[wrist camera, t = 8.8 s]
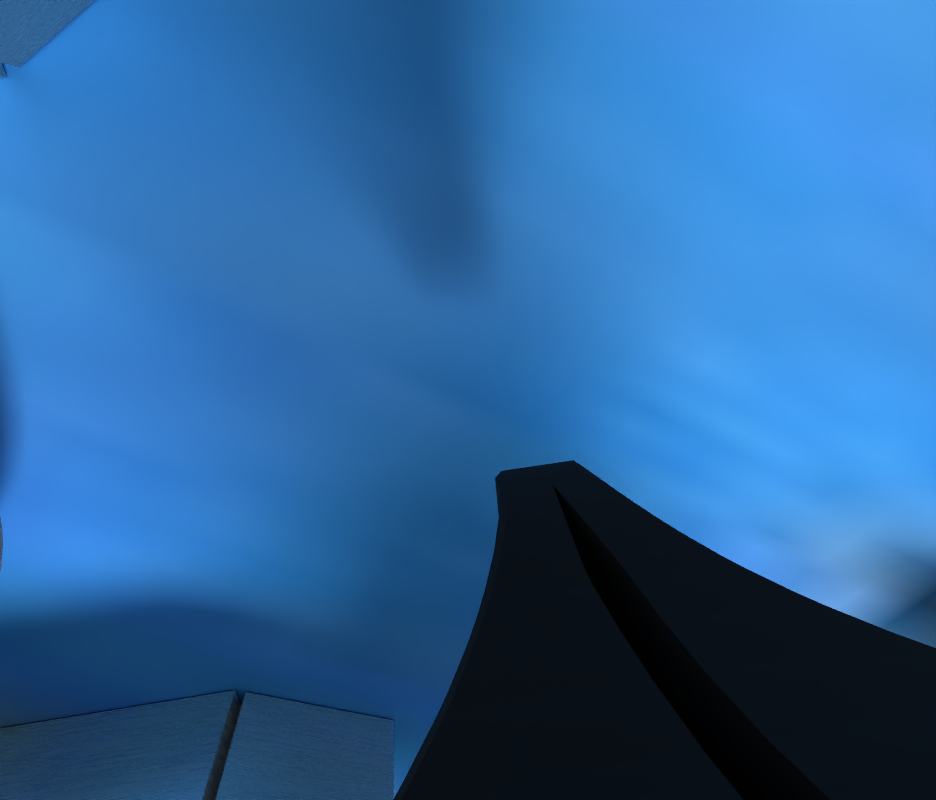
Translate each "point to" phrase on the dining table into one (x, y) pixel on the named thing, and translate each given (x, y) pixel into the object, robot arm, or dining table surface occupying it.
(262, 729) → the motor block
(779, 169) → the dining table surface
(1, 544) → the teacup
